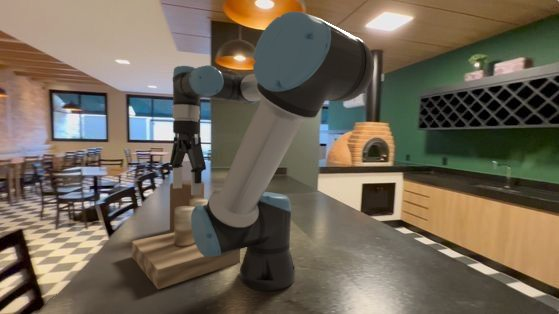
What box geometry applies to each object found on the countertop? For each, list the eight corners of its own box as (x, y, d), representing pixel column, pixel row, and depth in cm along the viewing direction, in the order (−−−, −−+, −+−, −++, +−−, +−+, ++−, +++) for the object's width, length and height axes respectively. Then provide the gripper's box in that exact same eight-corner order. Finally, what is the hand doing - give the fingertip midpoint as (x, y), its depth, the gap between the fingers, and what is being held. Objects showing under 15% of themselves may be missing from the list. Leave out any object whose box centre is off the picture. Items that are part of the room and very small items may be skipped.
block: (192, 237, 103) (192, 184, 101) (168, 234, 105) (168, 183, 103) (204, 228, 112) (205, 181, 111) (182, 226, 114) (183, 179, 113)
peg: (198, 258, 83) (199, 208, 82) (178, 264, 79) (179, 212, 78) (190, 252, 87) (190, 205, 87) (170, 257, 83) (171, 207, 82)
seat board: (239, 262, 83) (240, 210, 82) (158, 289, 66) (158, 225, 65) (203, 239, 100) (203, 196, 99) (131, 256, 84) (131, 206, 83)
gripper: (218, 119, 74) (218, 196, 75) (182, 123, 93) (181, 184, 94) (192, 117, 69) (192, 199, 70) (159, 121, 87) (159, 186, 89)
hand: (186, 191), depth 82 cm, fingers open, 13 cm apart
